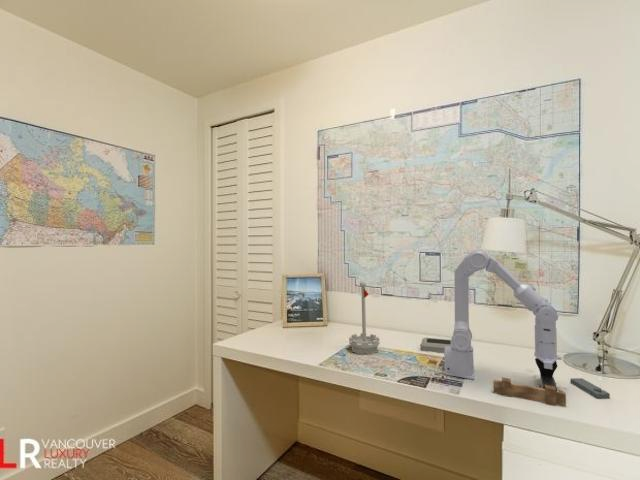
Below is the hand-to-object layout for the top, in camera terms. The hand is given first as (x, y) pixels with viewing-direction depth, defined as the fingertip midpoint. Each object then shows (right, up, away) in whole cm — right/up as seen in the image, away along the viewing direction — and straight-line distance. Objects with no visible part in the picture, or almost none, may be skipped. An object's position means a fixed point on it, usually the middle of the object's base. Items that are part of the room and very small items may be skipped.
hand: (546, 383), depth 103 cm
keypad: (-21, -2, +36) cm, 42 cm away
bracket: (+11, -1, -3) cm, 12 cm away
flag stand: (-53, -2, +37) cm, 65 cm away
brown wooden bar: (-10, -1, -6) cm, 11 cm away
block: (-3, -1, -5) cm, 6 cm away
